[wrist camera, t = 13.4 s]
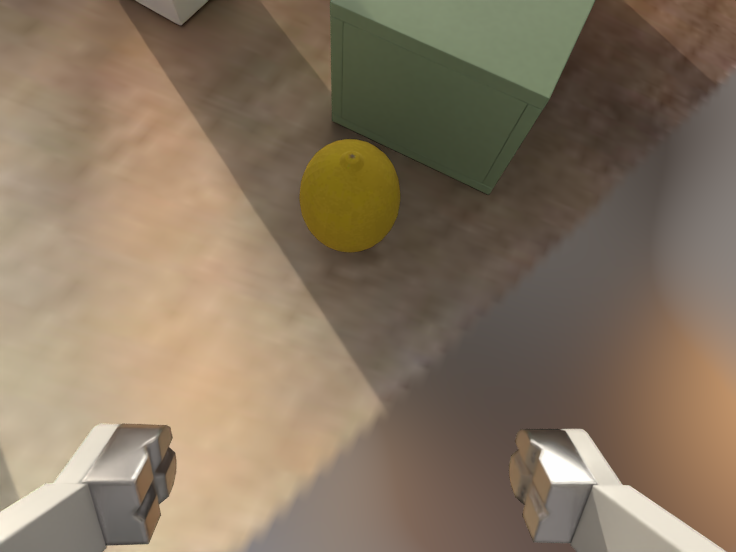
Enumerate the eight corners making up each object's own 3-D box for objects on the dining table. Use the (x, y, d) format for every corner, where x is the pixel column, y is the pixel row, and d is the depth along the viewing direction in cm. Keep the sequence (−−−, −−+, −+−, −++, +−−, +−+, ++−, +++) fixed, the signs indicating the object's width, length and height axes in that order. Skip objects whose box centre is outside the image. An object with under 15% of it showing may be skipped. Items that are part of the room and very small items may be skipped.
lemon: (404, 213, 29) (427, 134, 21) (369, 285, 27) (382, 227, 20) (328, 180, 29) (325, 92, 22) (289, 249, 28) (271, 179, 20)
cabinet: (421, -10, 36) (447, -149, 27) (559, 49, 35) (631, -77, 26) (331, 121, 31) (329, 1, 22) (488, 195, 30) (549, 98, 21)
